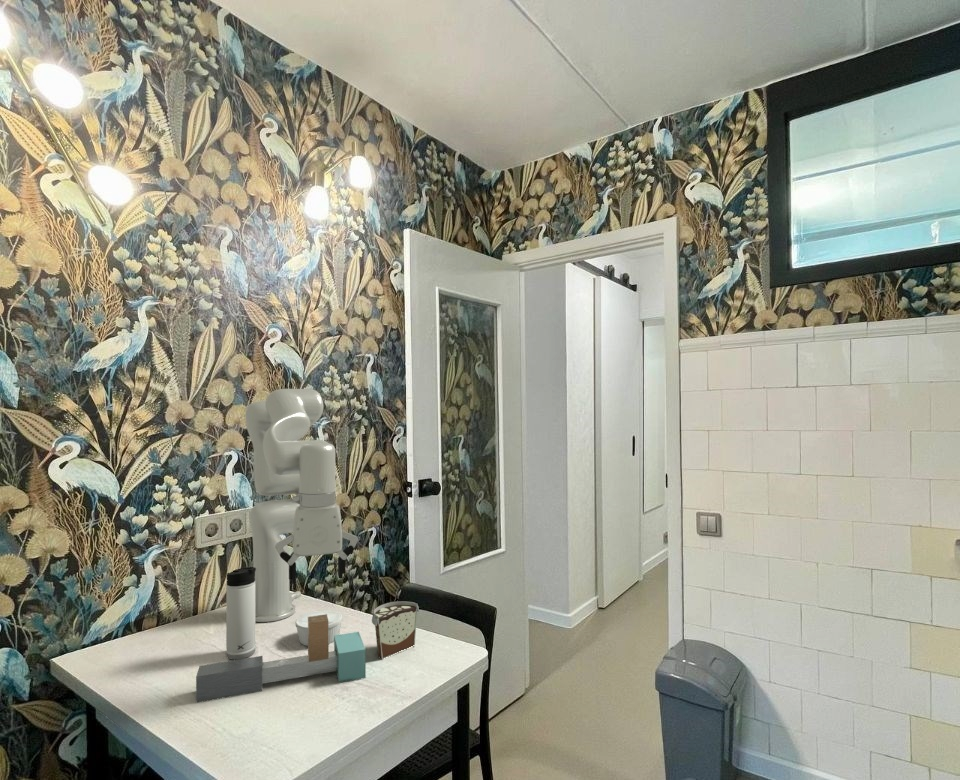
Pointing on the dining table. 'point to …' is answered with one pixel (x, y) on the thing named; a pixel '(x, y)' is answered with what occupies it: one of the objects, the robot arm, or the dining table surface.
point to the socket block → (350, 657)
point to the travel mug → (240, 613)
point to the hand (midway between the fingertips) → (317, 579)
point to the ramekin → (333, 625)
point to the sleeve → (229, 678)
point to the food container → (395, 627)
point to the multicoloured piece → (305, 665)
